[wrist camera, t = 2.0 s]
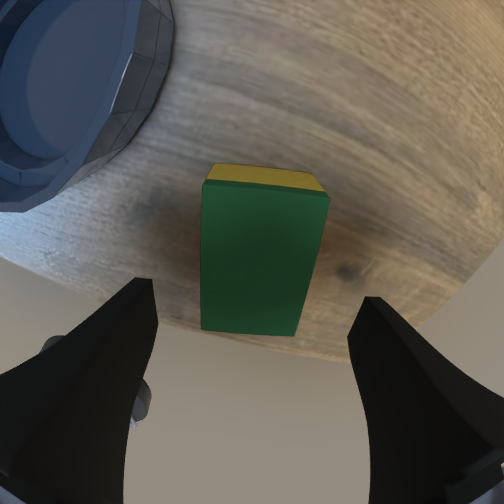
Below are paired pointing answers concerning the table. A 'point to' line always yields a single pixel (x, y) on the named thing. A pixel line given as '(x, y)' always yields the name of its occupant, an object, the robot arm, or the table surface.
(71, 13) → the bowl
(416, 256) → the table surface
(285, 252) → the sponge
